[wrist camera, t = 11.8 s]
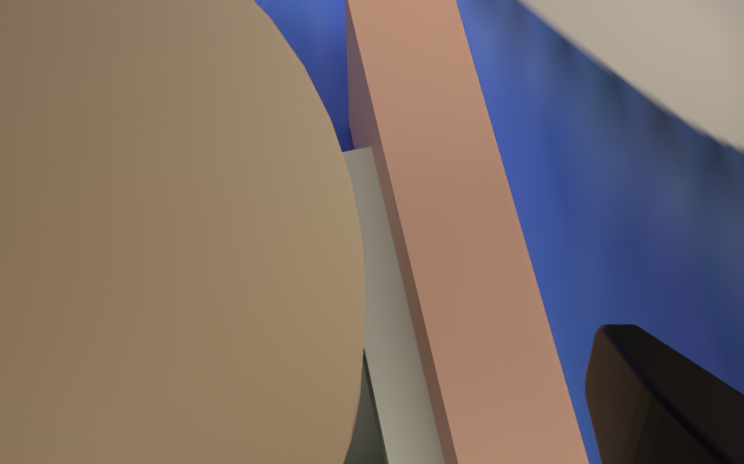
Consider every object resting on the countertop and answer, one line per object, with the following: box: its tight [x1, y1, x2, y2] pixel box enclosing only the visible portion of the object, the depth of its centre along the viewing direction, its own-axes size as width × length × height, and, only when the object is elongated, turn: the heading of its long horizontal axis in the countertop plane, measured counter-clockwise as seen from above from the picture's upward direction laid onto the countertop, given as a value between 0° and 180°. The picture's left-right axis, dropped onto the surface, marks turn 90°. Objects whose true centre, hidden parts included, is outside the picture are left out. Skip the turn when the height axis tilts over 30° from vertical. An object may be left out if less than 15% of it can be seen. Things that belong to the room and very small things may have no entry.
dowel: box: [0, 0, 366, 464], centre depth 9 cm, size 4×4×13 cm
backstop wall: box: [345, 0, 589, 464], centre depth 14 cm, size 14×2×6 cm, turn 12°
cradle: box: [342, 147, 445, 464], centre depth 14 cm, size 9×9×4 cm
